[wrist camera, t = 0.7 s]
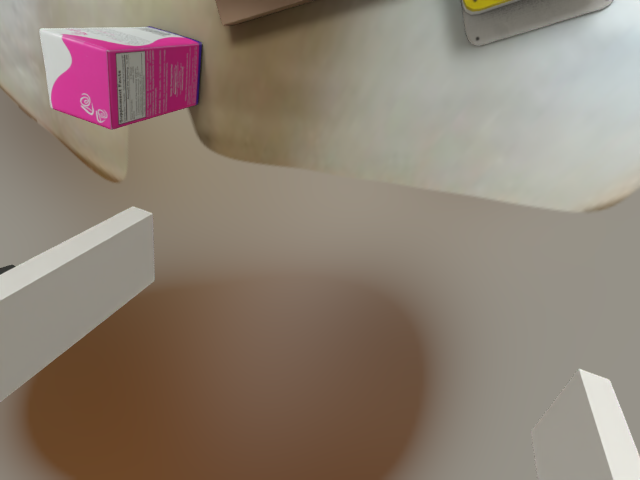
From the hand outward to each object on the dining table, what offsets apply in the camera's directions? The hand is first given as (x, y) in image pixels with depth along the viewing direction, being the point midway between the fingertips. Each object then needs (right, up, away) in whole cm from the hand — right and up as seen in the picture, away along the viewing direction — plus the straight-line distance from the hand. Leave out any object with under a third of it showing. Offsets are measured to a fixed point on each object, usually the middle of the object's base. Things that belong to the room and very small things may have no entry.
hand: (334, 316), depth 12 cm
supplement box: (-14, +19, +26) cm, 35 cm away
